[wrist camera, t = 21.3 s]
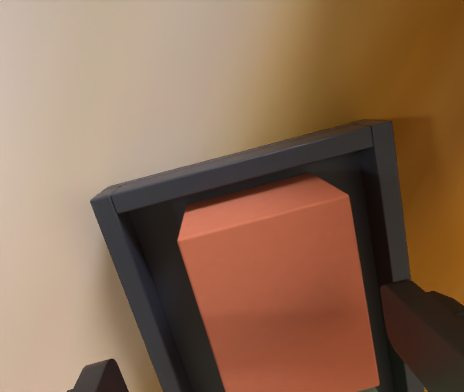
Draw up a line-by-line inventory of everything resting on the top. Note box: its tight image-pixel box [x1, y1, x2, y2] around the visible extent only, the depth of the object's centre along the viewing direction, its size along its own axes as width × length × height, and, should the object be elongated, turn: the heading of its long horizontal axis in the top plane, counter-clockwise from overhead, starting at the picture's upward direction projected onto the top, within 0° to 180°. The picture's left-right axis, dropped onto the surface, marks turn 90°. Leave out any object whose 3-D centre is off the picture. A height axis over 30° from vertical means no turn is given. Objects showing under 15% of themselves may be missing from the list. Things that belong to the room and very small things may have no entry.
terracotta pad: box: [177, 173, 380, 392], centre depth 13 cm, size 6×8×4 cm
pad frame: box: [90, 120, 424, 392], centre depth 15 cm, size 12×19×2 cm, turn 14°
